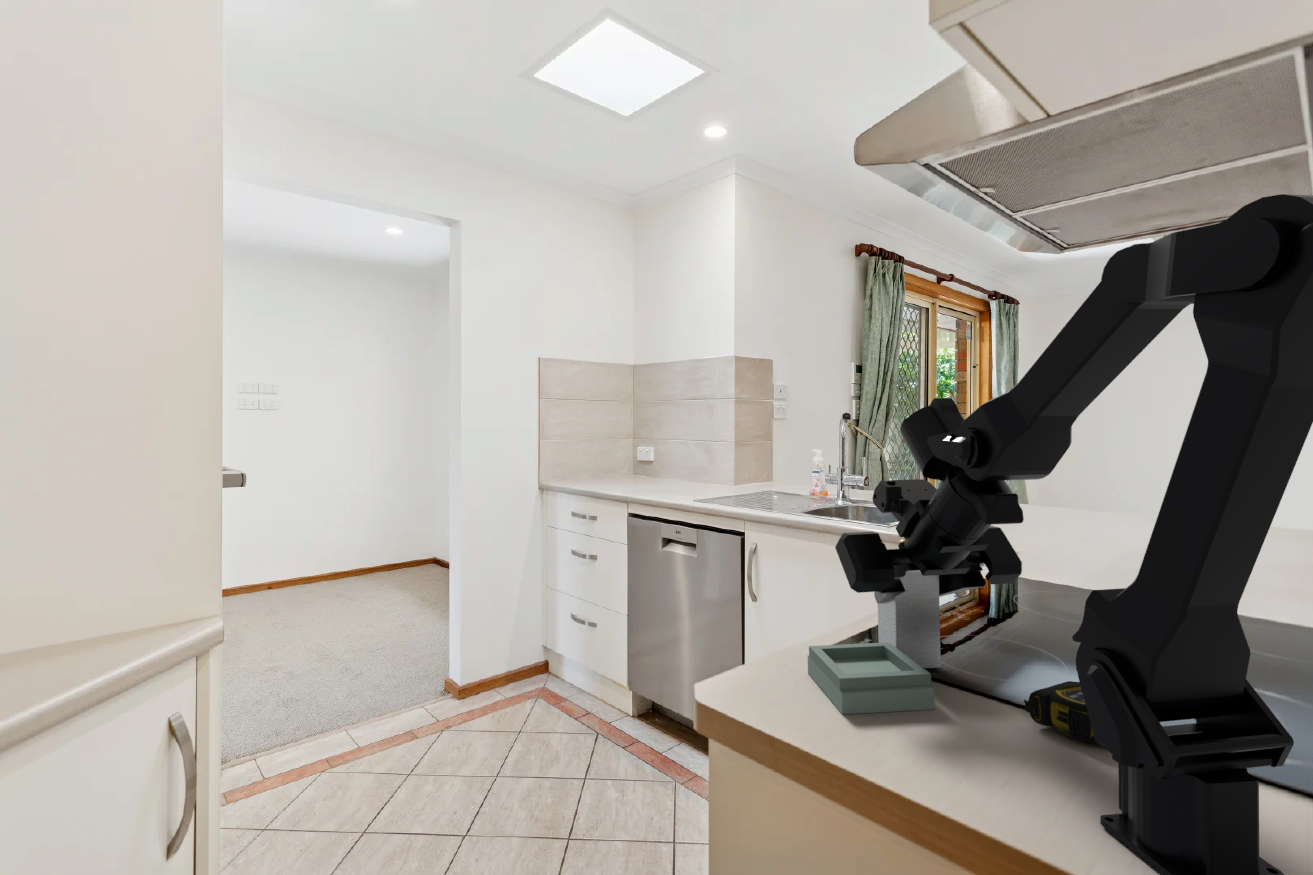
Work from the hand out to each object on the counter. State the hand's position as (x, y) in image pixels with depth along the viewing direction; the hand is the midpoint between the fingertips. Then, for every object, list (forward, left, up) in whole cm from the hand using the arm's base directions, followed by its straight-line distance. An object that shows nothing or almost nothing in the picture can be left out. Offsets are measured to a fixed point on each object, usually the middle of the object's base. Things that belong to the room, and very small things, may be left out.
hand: (899, 598), depth 73 cm
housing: (-2, 0, -7) cm, 7 cm away
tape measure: (-18, -7, -7) cm, 21 cm away
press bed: (-8, +7, -7) cm, 13 cm away
